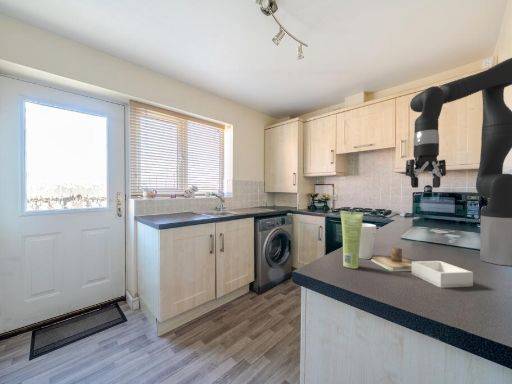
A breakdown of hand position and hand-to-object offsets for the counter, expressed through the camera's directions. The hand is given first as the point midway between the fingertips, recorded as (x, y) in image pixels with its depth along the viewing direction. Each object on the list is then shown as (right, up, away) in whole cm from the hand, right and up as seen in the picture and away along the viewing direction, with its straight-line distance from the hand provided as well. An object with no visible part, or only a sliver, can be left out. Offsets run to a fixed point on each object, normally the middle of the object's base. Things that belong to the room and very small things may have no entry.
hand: (425, 187), depth 82 cm
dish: (-8, -28, -16) cm, 33 cm away
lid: (-13, -28, -3) cm, 30 cm away
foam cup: (-20, -28, +7) cm, 35 cm away
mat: (-13, -28, -3) cm, 31 cm away
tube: (-30, -28, -5) cm, 41 cm away
